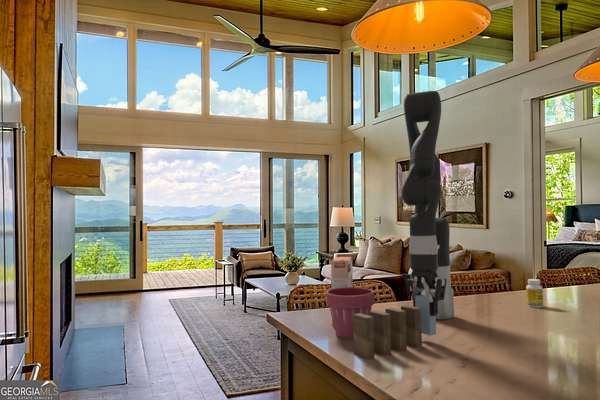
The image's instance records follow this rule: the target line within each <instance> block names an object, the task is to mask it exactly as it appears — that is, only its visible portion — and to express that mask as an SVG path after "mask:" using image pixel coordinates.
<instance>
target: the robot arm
mask: <svg viewBox="0 0 600 400" xmlns="http://www.w3.org/2000/svg"><path fill="white" fill-rule="evenodd" d="M403 98H404V99H403V113H404V119H405V120H404V121H405V124H406V132H407V133H406V134H407V137H408V138H407V140H408V146H409V169H408V172H407V176H406V178H405V179H404V183H403V185H402V188H401V198H402V201H403V203H404V204H406V205H407V206H414V214H412V215H411V216H410V217H409V220H408V222H409V223H408V225H409V241H408V243H409V244H408V247H409V268H410V269H411V273H407V274H404V275H403V280H404V285H405V290H406V294H407V296H410V297H411V298H412V300H413V301H412V304H413V305H412V306H413V307H415V296H416V295H425V296H428V297H429V300H430V302H429V307H430V316H436V320H448V319H449V320H450V319H451V318H452V319H453V318H455V302H454V288H452V286H451V285H452V284H451V283H452V282H451V261H450V260H451V259H450V257H451V256H450V232H451V231H450V222H449V220H448V218H446V217H437V212H438V207H439V203H440V200H441V195H442V186H441V181H442V174H441V162H440V159H439V157H438V155H437V154H436V145H437V140H438V135H439V130H440V123H441V116H442V100H441V95H440V94H439V92H438V91H437V90H427V91H426V90H425V91H420V92H418V91H417V92H411V93H406V95H404V97H403ZM425 122H427V125H426V126H425V128H424V129H423V131H422V132H420V128H419V127H418V123H425ZM438 246H439V247H438Z"/></svg>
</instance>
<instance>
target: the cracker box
mask: <svg viewBox="0 0 600 400" xmlns="http://www.w3.org/2000/svg"><path fill="white" fill-rule="evenodd" d="M330 266H331V268H330V272H331V275H330V276H331V277H330V278H331V289H334V288H343V287H354V283H353V281H354V280H353V278H354V277H353V257H352V256H336V257H335V258H333V259H332V260H331V261H330ZM331 324H332V325H331V326H332V327H334V324H333V320H332V319H331Z"/></svg>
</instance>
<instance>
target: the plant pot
mask: <svg viewBox="0 0 600 400" xmlns="http://www.w3.org/2000/svg"><path fill="white" fill-rule="evenodd" d="M325 293H326V294H325V295H326V299H325V300H326V305H327V306H328V307H329V308H330V309H329V310H330V314H331V321H332V320H333V324H334V326H333V327H334V333H335V335H336V336H337V337H338V338H344V339H354V335H353V314H358V313H360V314H364V315H368V316H370V311H372V308H373V306H374V305H375V291H374V290H373V289H371V288H367V287H355V286H353V287H343V288H334V289H332V288H330V289H328V290H326V292H325Z"/></svg>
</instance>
